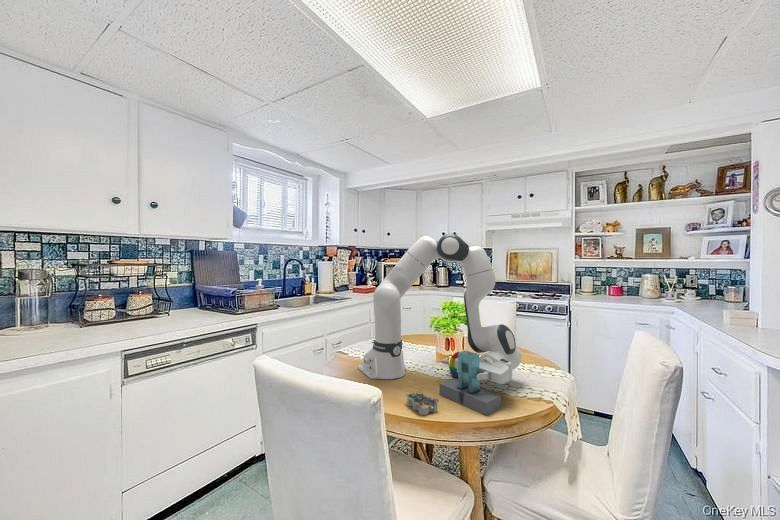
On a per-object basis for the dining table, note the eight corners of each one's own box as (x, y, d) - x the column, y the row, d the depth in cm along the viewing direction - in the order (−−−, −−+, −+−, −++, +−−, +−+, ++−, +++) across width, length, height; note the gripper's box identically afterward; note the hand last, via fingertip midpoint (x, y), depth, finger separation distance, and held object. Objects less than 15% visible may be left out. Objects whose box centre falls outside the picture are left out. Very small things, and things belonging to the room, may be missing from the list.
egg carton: (440, 412, 106) (440, 399, 106) (420, 417, 103) (420, 404, 103) (422, 399, 116) (422, 387, 116) (404, 403, 112) (404, 391, 112)
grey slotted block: (439, 394, 119) (439, 383, 119) (454, 388, 124) (454, 378, 124) (486, 415, 103) (486, 403, 103) (501, 407, 108) (500, 395, 108)
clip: (458, 395, 114) (457, 352, 114) (465, 392, 117) (465, 350, 117) (472, 401, 110) (472, 356, 109) (479, 397, 112) (479, 354, 112)
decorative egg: (469, 380, 131) (469, 355, 131) (448, 378, 133) (448, 354, 133) (469, 373, 139) (469, 349, 139) (449, 371, 141) (449, 348, 141)
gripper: (468, 350, 129) (444, 357, 121) (515, 363, 113) (492, 373, 105) (468, 366, 129) (444, 374, 121) (515, 382, 113) (492, 393, 105)
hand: (467, 374), depth 113 cm, fingers closed on clip, 6 cm apart
